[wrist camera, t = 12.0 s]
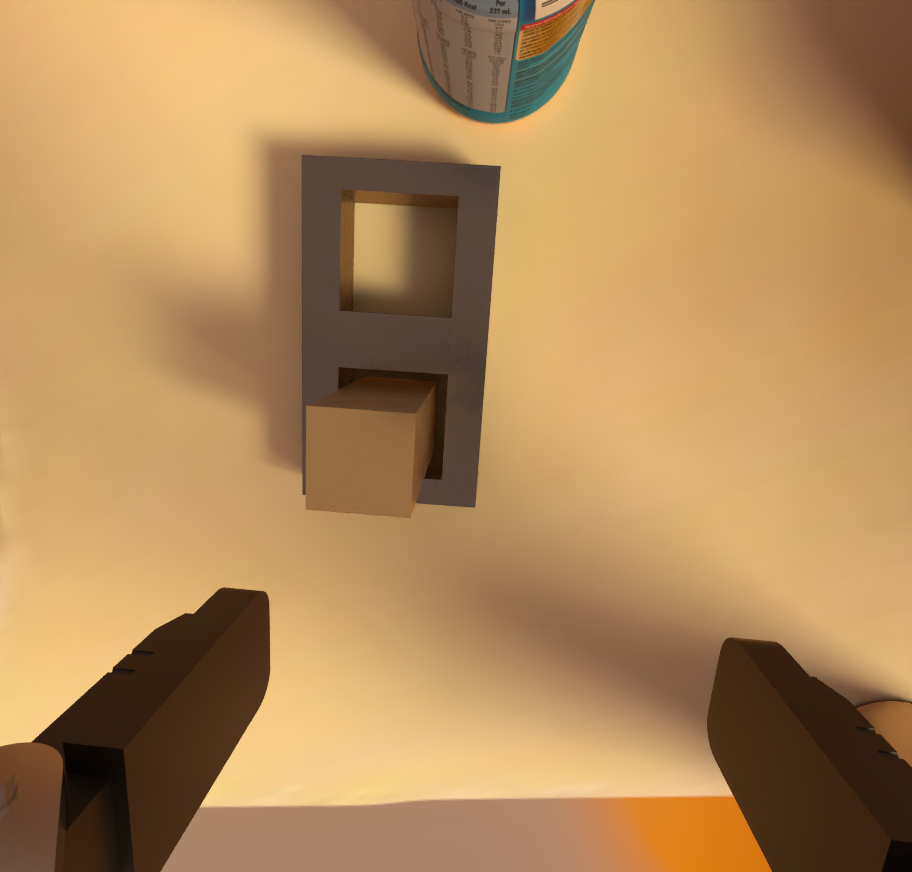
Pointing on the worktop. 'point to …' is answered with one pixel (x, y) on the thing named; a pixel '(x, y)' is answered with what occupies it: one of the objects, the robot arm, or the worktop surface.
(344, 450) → the wooden peg
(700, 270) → the worktop surface
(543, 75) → the beverage bottle
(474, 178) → the block with square holes
